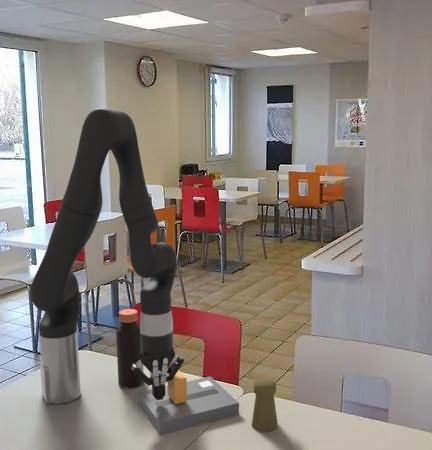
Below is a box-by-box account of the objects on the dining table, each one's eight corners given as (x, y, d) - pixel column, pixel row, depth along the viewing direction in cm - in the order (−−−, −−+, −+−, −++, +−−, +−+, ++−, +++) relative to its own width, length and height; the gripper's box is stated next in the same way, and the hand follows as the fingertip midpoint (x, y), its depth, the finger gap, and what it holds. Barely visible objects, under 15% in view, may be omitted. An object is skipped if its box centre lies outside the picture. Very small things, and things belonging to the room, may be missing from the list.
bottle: (113, 384, 152) (109, 313, 149) (130, 375, 158) (127, 306, 154) (131, 391, 149) (128, 317, 145) (149, 381, 154) (146, 310, 150)
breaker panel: (160, 434, 127) (159, 422, 127) (137, 403, 142) (137, 392, 141) (238, 414, 136) (238, 402, 135) (210, 387, 150) (210, 376, 150)
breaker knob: (175, 404, 134) (174, 380, 133) (167, 395, 139) (167, 372, 138) (187, 401, 136) (186, 377, 134) (179, 392, 140) (178, 369, 139)
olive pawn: (276, 433, 127) (276, 387, 126) (249, 430, 129) (249, 385, 127) (279, 419, 133) (279, 375, 131) (253, 417, 134) (253, 373, 133)
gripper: (177, 319, 138) (179, 386, 141) (124, 328, 132) (127, 397, 135) (189, 329, 131) (190, 399, 134) (133, 339, 126) (136, 411, 129)
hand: (158, 398), depth 135 cm, fingers closed
